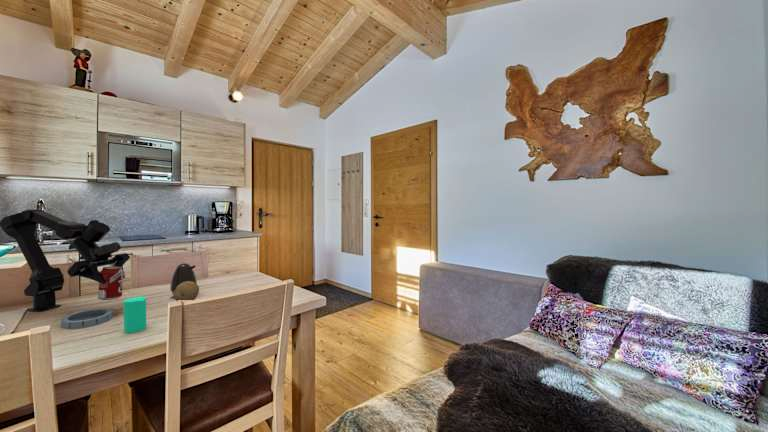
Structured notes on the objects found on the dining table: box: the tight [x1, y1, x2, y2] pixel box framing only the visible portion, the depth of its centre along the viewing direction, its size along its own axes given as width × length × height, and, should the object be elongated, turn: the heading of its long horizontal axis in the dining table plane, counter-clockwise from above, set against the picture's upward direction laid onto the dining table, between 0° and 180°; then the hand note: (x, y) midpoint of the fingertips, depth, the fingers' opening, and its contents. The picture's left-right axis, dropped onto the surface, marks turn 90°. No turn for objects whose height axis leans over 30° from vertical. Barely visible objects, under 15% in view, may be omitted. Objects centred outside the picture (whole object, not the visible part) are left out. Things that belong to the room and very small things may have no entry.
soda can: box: [97, 265, 125, 301], centre depth 113 cm, size 7×7×12 cm
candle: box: [123, 295, 147, 334], centre depth 102 cm, size 6×6×12 cm
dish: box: [60, 307, 114, 330], centre depth 107 cm, size 13×13×2 cm
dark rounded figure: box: [170, 262, 198, 295], centre depth 136 cm, size 10×10×15 cm
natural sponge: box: [172, 281, 200, 302], centre depth 126 cm, size 9×9×10 cm
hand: (114, 280), depth 113 cm, fingers closed on soda can, 7 cm apart
